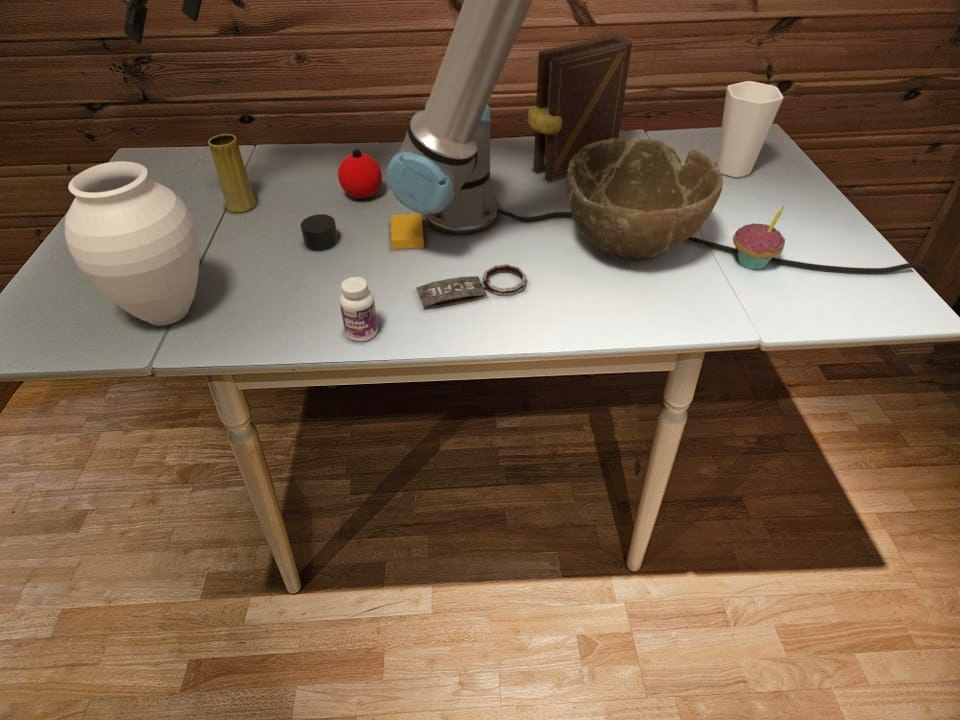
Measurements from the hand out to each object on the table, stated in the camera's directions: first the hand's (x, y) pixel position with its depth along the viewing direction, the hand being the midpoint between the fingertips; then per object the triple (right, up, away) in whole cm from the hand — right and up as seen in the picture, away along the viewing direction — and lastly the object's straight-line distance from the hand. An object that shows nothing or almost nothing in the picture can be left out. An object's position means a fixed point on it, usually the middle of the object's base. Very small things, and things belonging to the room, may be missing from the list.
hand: (162, 26), depth 110 cm
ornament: (+29, -22, +28) cm, 46 cm away
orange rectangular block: (+40, -32, +16) cm, 54 cm away
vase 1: (+1, -48, 0) cm, 48 cm away
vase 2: (+4, -24, +25) cm, 35 cm away
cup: (+109, -15, +34) cm, 115 cm away
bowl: (+82, -34, +14) cm, 90 cm away
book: (+74, -13, +36) cm, 83 cm away
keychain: (+53, -44, +4) cm, 69 cm away
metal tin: (+23, -33, +15) cm, 44 cm away
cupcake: (+103, -39, +9) cm, 110 cm away
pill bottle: (+35, -52, -4) cm, 62 cm away
